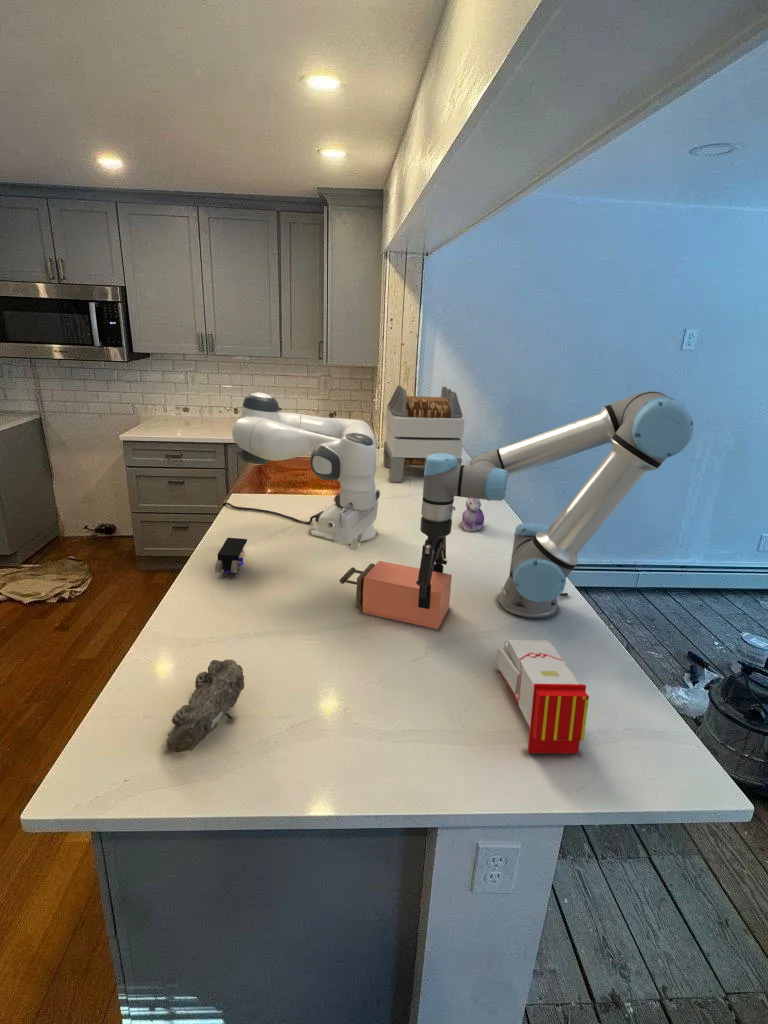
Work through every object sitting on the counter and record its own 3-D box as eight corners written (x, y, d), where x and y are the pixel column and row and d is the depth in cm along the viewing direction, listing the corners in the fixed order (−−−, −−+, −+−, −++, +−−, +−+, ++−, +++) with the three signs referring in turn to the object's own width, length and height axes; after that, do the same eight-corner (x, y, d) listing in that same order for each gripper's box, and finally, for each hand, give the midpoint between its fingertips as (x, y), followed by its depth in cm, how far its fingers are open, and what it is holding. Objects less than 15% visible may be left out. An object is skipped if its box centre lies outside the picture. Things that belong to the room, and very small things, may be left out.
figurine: (470, 533, 202) (474, 493, 197) (453, 524, 211) (457, 485, 206) (491, 530, 207) (495, 491, 202) (474, 520, 215) (478, 483, 210)
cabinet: (362, 612, 147) (363, 577, 144) (377, 594, 157) (379, 560, 154) (437, 629, 141) (441, 593, 138) (448, 609, 151) (451, 574, 148)
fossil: (192, 660, 117) (244, 628, 112) (224, 691, 120) (276, 661, 115) (142, 746, 98) (202, 712, 93) (182, 779, 101) (242, 748, 96)
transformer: (382, 463, 289) (386, 382, 275) (445, 464, 293) (451, 384, 279) (390, 482, 257) (394, 392, 243) (460, 483, 261) (468, 394, 247)
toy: (545, 623, 127) (598, 692, 98) (539, 677, 130) (590, 761, 101) (491, 622, 127) (529, 691, 98) (487, 677, 130) (522, 760, 100)
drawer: (337, 602, 150) (337, 574, 147) (352, 586, 159) (352, 559, 156) (426, 622, 142) (428, 592, 140) (436, 604, 151) (438, 576, 148)
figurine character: (238, 584, 162) (249, 557, 175) (236, 562, 158) (247, 536, 172) (215, 584, 161) (227, 556, 175) (212, 561, 158) (225, 535, 171)
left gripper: (352, 512, 134) (351, 565, 138) (382, 489, 152) (380, 537, 157) (328, 508, 136) (327, 561, 140) (360, 486, 154) (359, 533, 159)
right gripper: (439, 536, 126) (432, 621, 134) (462, 505, 147) (455, 580, 155) (407, 530, 129) (401, 615, 136) (434, 500, 150) (428, 575, 157)
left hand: (355, 548), depth 149 cm, fingers closed
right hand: (430, 597), depth 145 cm, fingers closed on cabinet, 11 cm apart
